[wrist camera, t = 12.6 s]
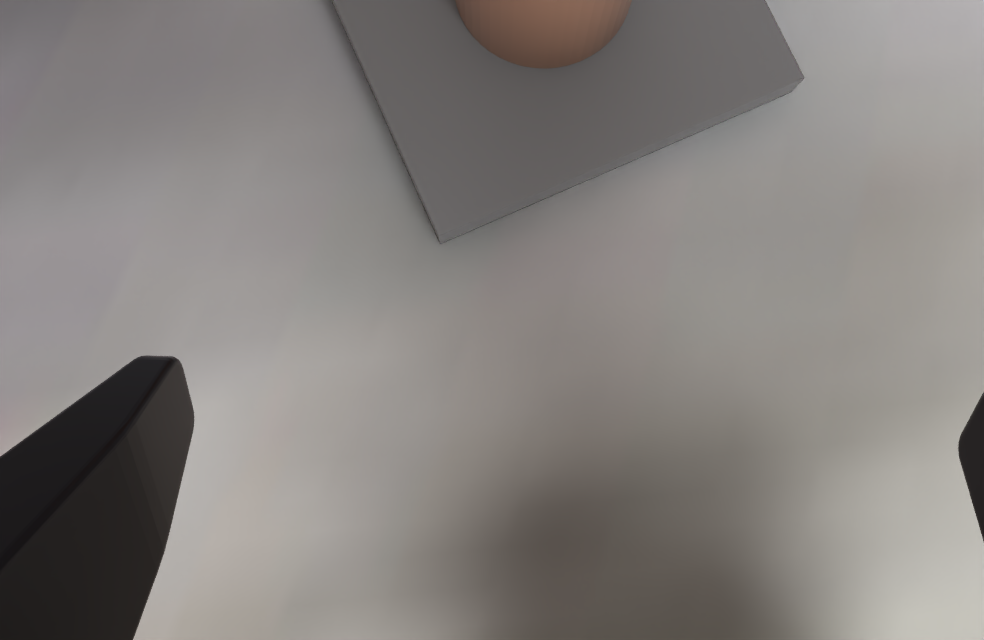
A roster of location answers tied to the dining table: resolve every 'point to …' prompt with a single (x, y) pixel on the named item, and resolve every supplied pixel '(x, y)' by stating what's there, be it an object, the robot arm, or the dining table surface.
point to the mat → (555, 97)
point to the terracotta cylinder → (543, 28)
